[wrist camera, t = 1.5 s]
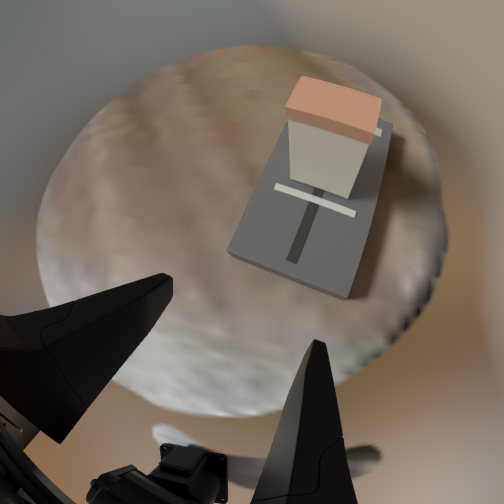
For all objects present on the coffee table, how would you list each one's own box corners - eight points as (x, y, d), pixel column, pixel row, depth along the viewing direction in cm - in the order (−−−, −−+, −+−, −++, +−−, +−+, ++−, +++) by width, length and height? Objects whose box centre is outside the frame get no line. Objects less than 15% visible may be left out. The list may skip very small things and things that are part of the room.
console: (342, 300, 21) (347, 297, 19) (231, 256, 24) (226, 250, 22) (388, 135, 24) (393, 123, 22) (300, 107, 27) (300, 93, 25)
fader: (348, 200, 21) (374, 134, 13) (288, 179, 22) (284, 106, 14) (357, 169, 21) (382, 99, 13) (301, 150, 23) (301, 75, 14)
